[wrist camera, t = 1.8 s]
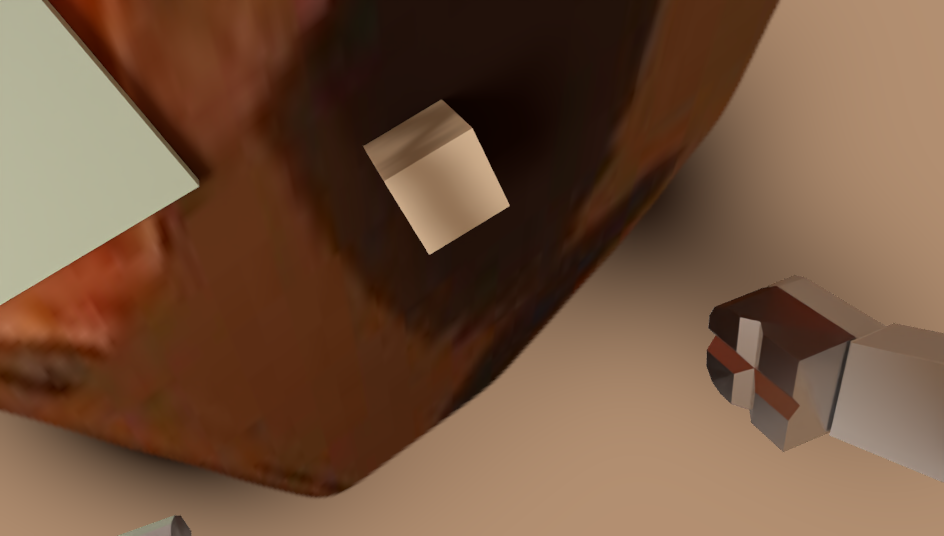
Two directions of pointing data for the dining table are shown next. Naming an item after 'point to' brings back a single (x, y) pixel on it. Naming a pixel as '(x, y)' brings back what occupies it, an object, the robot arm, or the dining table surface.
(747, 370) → the robot arm
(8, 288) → the board
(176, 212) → the dining table surface
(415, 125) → the cube
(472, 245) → the dining table surface
